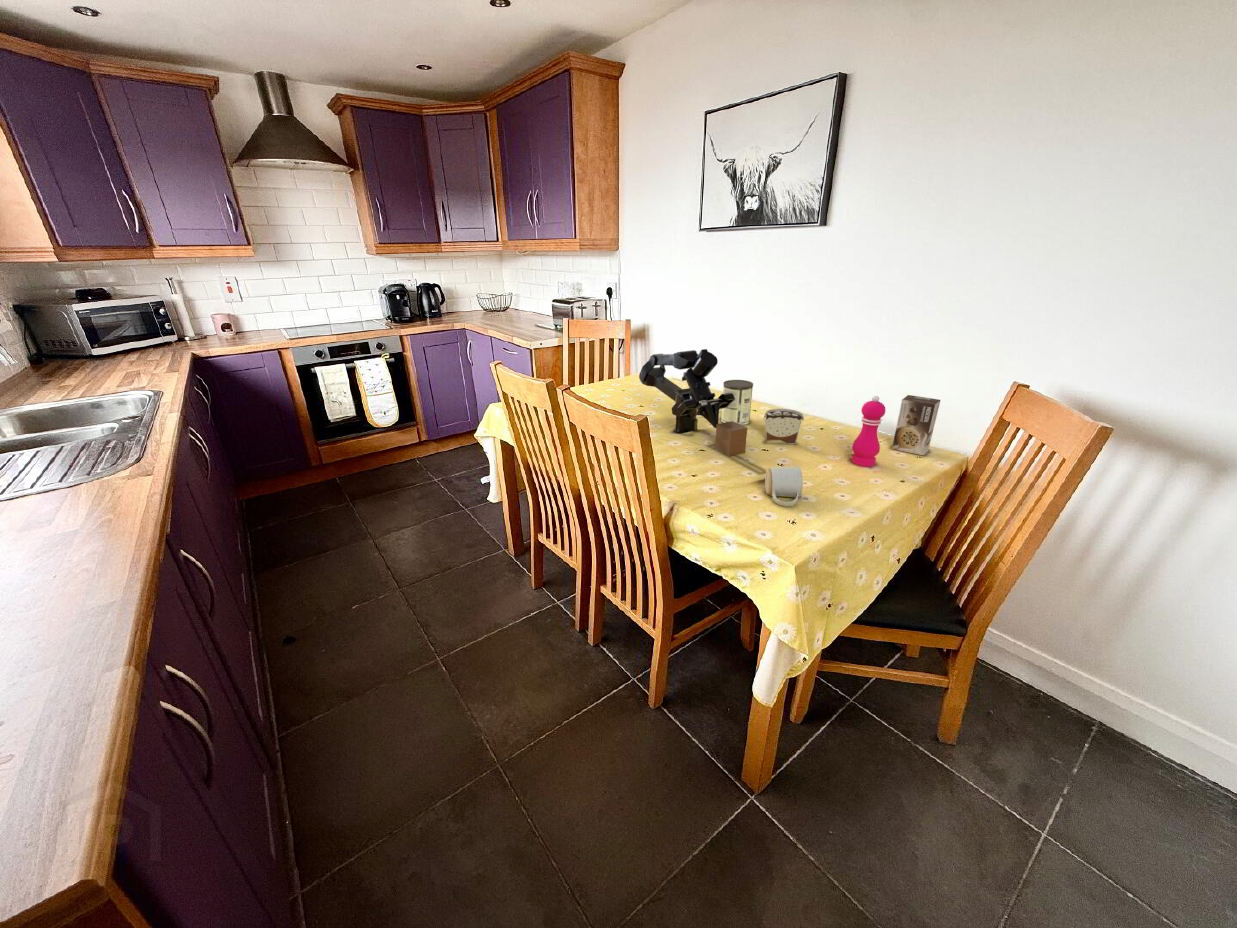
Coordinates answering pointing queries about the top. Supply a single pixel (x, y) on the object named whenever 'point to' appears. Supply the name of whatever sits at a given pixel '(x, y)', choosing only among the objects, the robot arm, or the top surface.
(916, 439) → the coffee box
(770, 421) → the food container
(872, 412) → the pepper mill
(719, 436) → the walnut slider
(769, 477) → the ceramic mug
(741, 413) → the coffee can
